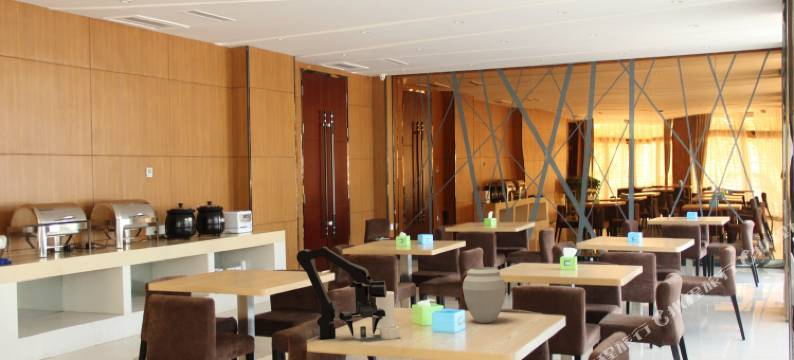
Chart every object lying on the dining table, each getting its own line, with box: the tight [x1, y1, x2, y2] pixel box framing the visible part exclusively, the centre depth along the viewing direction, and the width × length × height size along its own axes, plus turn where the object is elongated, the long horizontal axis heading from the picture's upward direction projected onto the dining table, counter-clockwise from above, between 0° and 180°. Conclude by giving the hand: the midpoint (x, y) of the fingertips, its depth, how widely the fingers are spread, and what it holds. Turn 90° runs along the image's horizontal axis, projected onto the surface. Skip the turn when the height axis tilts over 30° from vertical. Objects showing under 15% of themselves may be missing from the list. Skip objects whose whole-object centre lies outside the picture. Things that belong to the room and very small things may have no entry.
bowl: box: [379, 325, 400, 341], centre depth 336 cm, size 8×8×4 cm
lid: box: [351, 325, 375, 341], centre depth 339 cm, size 8×8×5 cm
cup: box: [375, 290, 396, 330], centre depth 361 cm, size 8×8×16 cm
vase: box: [462, 266, 507, 324], centre depth 368 cm, size 20×20×24 cm
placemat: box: [358, 333, 402, 343], centre depth 337 cm, size 17×14×1 cm
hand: (363, 335), depth 339 cm, fingers open, 9 cm apart
